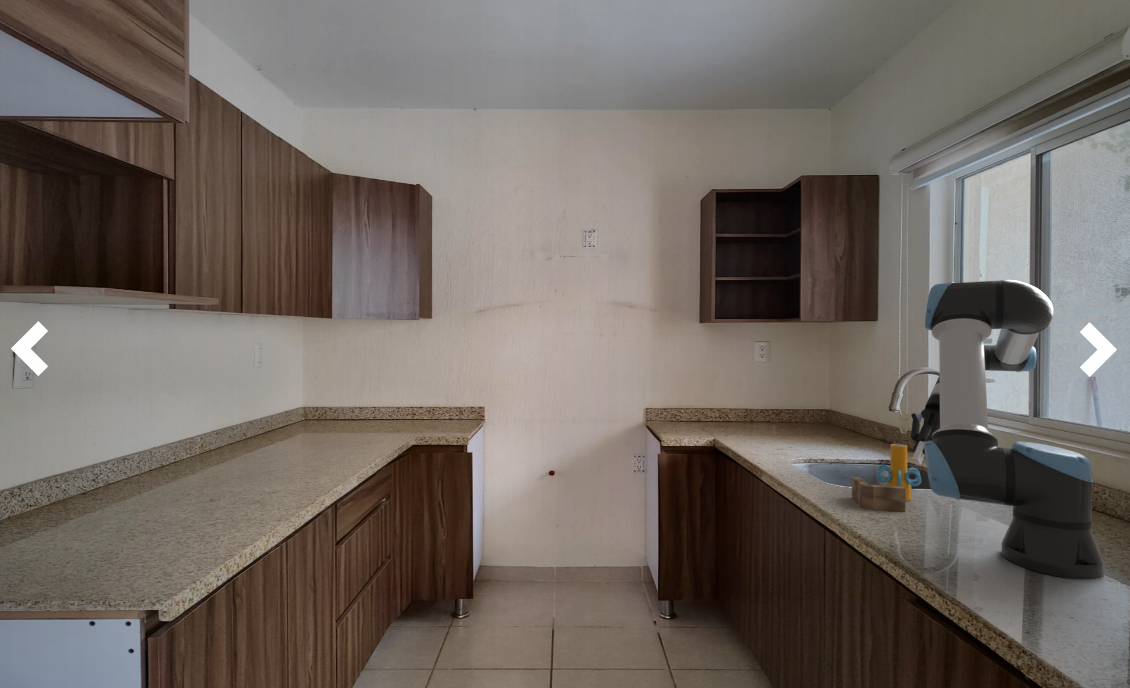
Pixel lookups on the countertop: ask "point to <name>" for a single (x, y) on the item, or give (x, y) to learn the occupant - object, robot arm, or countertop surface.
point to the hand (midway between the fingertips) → (916, 461)
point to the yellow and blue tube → (899, 470)
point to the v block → (878, 496)
